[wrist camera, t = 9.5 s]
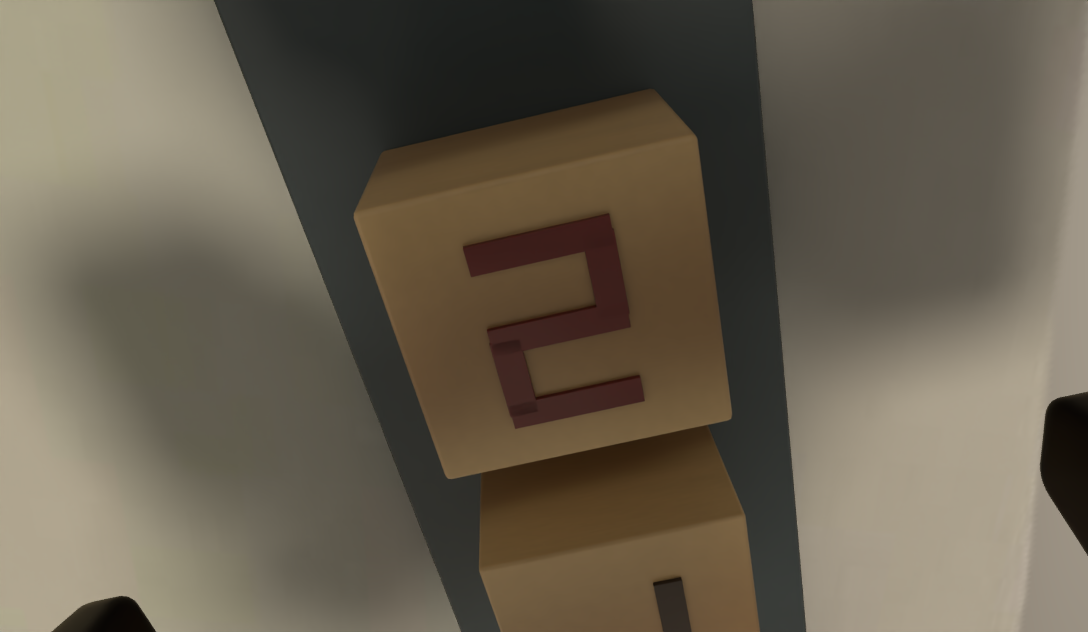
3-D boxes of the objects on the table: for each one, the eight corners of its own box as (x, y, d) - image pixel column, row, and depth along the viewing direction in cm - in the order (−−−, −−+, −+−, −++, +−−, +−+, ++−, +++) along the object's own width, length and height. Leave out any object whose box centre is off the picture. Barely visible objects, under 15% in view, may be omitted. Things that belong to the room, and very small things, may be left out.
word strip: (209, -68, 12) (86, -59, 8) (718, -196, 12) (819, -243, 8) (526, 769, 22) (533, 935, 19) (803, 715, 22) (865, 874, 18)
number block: (380, 150, 13) (348, 216, 10) (654, 85, 13) (700, 135, 10) (454, 380, 15) (446, 485, 12) (690, 329, 15) (735, 424, 12)
